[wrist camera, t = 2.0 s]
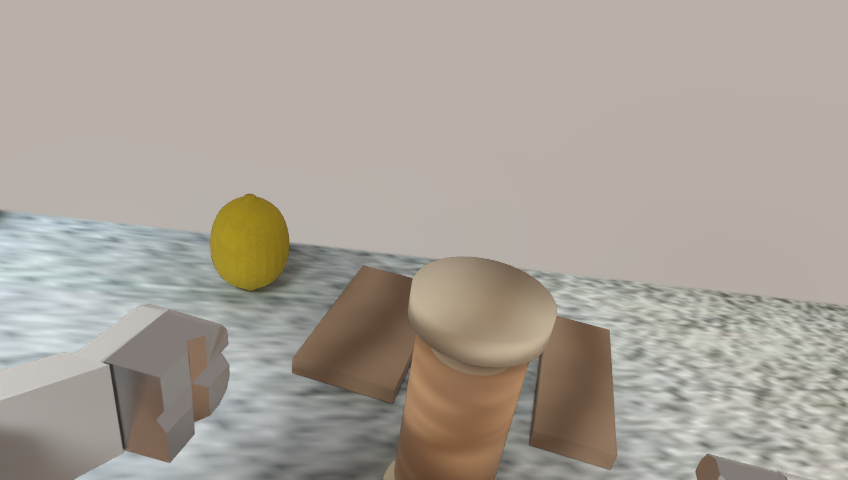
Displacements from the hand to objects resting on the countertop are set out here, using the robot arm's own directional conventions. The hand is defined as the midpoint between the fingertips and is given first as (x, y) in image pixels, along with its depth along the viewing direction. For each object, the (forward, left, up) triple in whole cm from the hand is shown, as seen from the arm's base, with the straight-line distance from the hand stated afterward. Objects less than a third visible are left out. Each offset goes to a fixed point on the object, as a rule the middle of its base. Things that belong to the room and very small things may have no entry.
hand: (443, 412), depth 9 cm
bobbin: (0, +12, -18) cm, 22 cm away
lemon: (-18, +25, -18) cm, 36 cm away
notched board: (-1, +24, -18) cm, 30 cm away
